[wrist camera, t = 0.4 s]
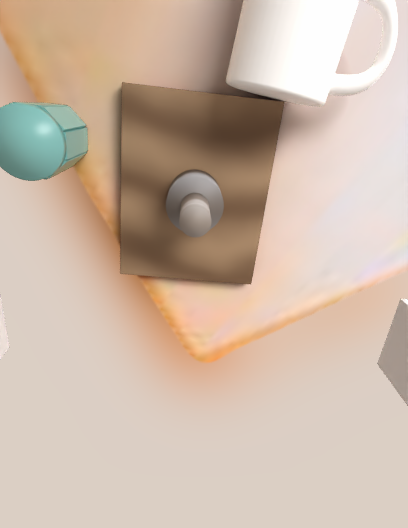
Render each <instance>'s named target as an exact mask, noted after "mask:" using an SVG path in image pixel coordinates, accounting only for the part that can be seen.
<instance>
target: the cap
mask: <svg viewBox="0 0 408 528" xmlns="http://www.w3.org/2000/svg"><path fill="white" fill-rule="evenodd" d="M85 126H86V124H85V123H84V122H83V121H82V120H81V119H80V118H79V116H78V115H77V114H76V113H75V112H74V111H73V110H72V109H71V107H67V105H61V104H52V103H36V102H34V103H32V102H29V103H28V102H13V103H9V104H8V105H5V106H3V107H1V108H0V167H1V168H2V169H4V170H5V171H6V172H8V173H9V174H10V175H12V176H14V177H17V178H19V179H23V180H28V181H35V180H41V179H48V178H51V177H53V176H55V175H57V174H59V173H61V172H63V171H65V170H67V169H69V168H71V167H73V166H74V165H75V164H76V163H77V162H78V161H79V160H80V159H81V158H82V157H83V156H84V155H85V154H86V153H87V152H86V151H88V132H87V128H85Z"/></svg>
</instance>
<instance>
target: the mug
mask: <svg viewBox="0 0 408 528" xmlns="http://www.w3.org/2000/svg"><path fill="white" fill-rule="evenodd" d="M363 1H365V2H366V3H368V4H369V5H371V6H372V7H373V8H374V9H375V10H376V11H377V12H378V14H379V15H380V17H381V20H382V37H381V42H380V46H379V50H378V53H377V56H376V58H375V61H374V62H373V64H372V66H371V67H370V68H369V69H368V70H367V71H365V72H363V73H360V74H355V75H341V74H335V72H336V69H337V66H338V63H339V60H340V57H341V54H342V51H343V48H344V45H345V42H346V39H347V36H348V33H349V30H350V27H351V24H352V21H353V18H354V15H355V12H356V9H357V6H358V3H359V0H244V1H243V5H242V10H241V14H240V19H239V23H238V28H237V32H236V37H235V41H234V46H233V50H232V55H231V59H230V64H229V68H228V73H227V77H226V83H227V84H228V85H230V86H232V87H234V88H237V89H240V90H243V91H247V92H250V93H253V94H257V95H261V96H265V97H269V98H273V99H277V100H281V101H286V102H290V103H295V104H301V105H307V106H314V107H321V106H323V105H324V104H325V102H326V99H327V96H328V95H334V96H349V95H354V94H358V93H361V92H363V91H365V90H366V89H368V88H369V87H371V86H372V85H373V84H374V83H375V82H376V81H377V80H378V79H379V78H380V77H381V76H382V74H383V73H384V71H385V70H386V68H387V66H388V64H389V62H390V60H391V58H392V55H393V52H394V49H395V45H396V40H397V33H398V16H397V9H396V4H395V1H394V0H363Z"/></svg>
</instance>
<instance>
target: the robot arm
mask: <svg viewBox="0 0 408 528" xmlns="http://www.w3.org/2000/svg"><path fill="white" fill-rule="evenodd" d="M9 347H10V346H9V341H8V335H7V330H6V324H5V318H4V313H3V307H2V302H1V296H0V359H1V358H2V357H3V355H4V354H5V353H6V351H7V350H8V349H9ZM378 365H379V367H380V368H381V370H382V371H383V372H384V374H385V375H386V377H387V378H388V379H389V380H390V382H391V383H392V384H393V386H394V388H395V389H396V390H397V392H398V393H399V394H400V396H401V397H402V398H403V400H404V401H405V403H406V404H407V406H408V299H400V302H399V305H398V307H397V310H396V313H395V316H394V319H393V322H392V324H391V327H390V330H389V333H388V335H387V338H386V341H385V344H384V347H383V349H382V352H381V355H380V358H379V361H378Z"/></svg>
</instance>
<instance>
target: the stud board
mask: <svg viewBox="0 0 408 528" xmlns="http://www.w3.org/2000/svg"><path fill="white" fill-rule="evenodd" d="M283 107H284V102H281V101H273V100H264V99H256V98H248V97H239V96H231V95H223V94H214V93H206V92H198V91H189V90H181V89H173V88H164V87H156V86H148V85H140V84H131V83H123V82H122V134H121V244H120V273H121V274H131V275H143V276H155V277H167V278H180V279H192V280H205V281H217V282H229V283H242V284H251V282H252V276H253V271H254V265H255V260H256V254H257V249H258V243H259V238H260V233H261V227H262V222H263V216H264V211H265V205H266V200H267V194H268V189H269V183H270V178H271V172H272V167H273V161H274V156H275V151H276V145H277V140H278V134H279V129H280V123H281V118H282V112H283Z"/></svg>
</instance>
